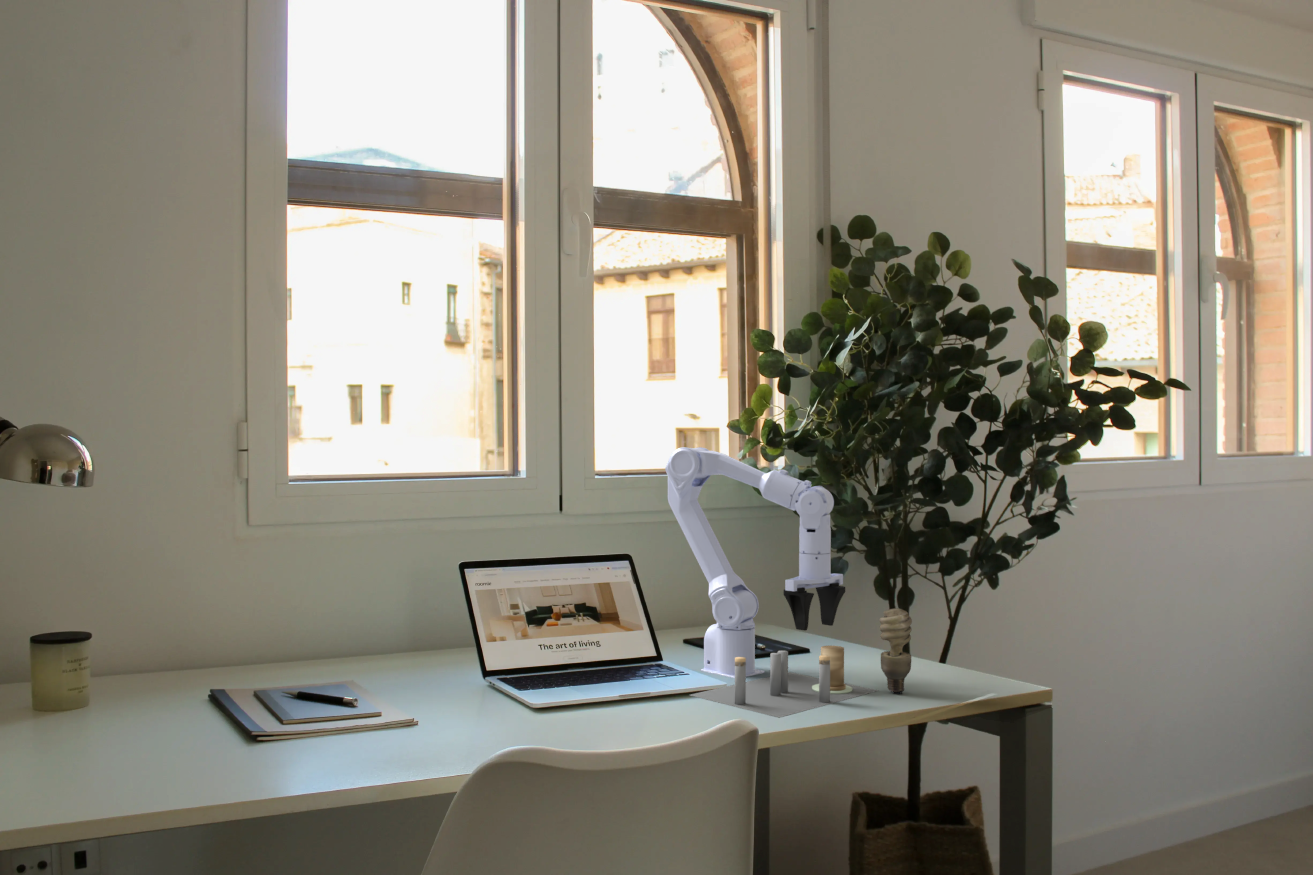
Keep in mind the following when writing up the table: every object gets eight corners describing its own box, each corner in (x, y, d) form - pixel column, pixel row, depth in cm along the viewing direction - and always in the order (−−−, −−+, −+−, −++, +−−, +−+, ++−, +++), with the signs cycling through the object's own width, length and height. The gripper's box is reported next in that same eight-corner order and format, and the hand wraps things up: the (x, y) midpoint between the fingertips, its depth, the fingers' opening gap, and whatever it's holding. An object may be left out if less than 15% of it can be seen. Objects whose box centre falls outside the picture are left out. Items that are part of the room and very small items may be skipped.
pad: (803, 688, 181) (803, 687, 181) (828, 682, 185) (828, 681, 185) (836, 696, 176) (836, 694, 176) (860, 689, 180) (860, 687, 180)
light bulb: (912, 699, 175) (912, 611, 175) (879, 698, 176) (879, 610, 176) (911, 692, 180) (911, 606, 180) (879, 690, 181) (879, 605, 182)
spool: (835, 692, 177) (835, 651, 177) (813, 687, 180) (813, 647, 181) (851, 687, 180) (851, 647, 180) (829, 683, 184) (829, 644, 184)
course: (688, 697, 176) (688, 650, 176) (789, 674, 194) (790, 632, 195) (779, 719, 161) (779, 669, 161) (879, 692, 180) (879, 647, 180)
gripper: (807, 557, 181) (807, 634, 181) (856, 551, 191) (856, 625, 190) (776, 554, 186) (776, 629, 186) (825, 549, 196) (825, 620, 196)
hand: (814, 627), depth 188 cm, fingers open, 7 cm apart
